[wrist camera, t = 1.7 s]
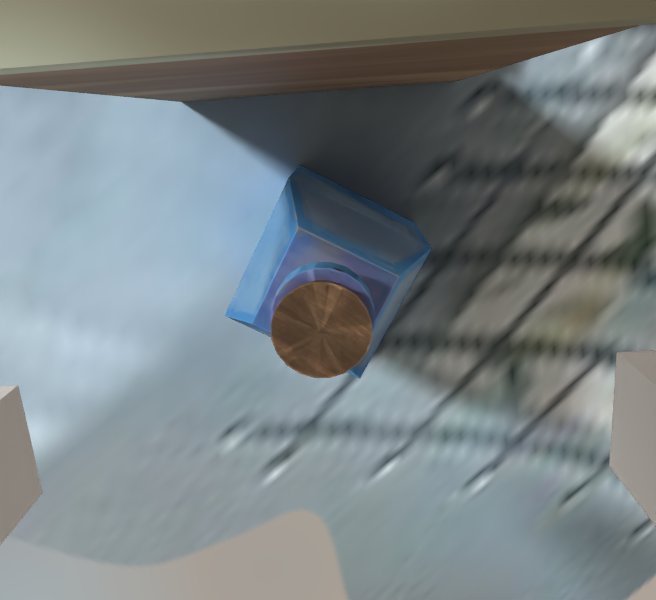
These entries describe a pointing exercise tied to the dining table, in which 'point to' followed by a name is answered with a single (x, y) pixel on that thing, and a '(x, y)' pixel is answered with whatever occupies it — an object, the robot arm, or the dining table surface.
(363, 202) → the perfume bottle
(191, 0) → the wooden l-shaped stand
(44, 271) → the dining table surface
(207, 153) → the dining table surface
